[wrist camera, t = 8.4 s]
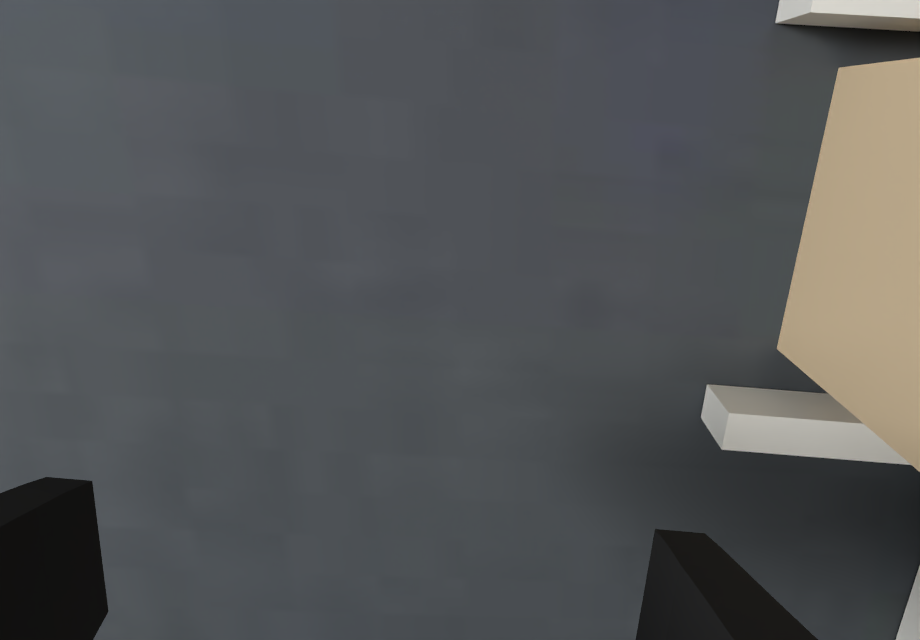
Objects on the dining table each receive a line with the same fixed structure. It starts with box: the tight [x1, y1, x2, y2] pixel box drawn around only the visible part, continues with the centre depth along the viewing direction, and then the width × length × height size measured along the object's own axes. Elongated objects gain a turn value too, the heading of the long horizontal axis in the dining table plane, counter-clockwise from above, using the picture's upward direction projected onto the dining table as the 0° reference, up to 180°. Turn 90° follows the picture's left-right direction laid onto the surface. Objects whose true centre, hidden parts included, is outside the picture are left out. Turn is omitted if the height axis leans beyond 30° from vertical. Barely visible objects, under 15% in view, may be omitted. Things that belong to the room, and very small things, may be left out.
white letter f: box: [701, 0, 920, 640], centre depth 17 cm, size 19×8×2 cm, turn 177°
